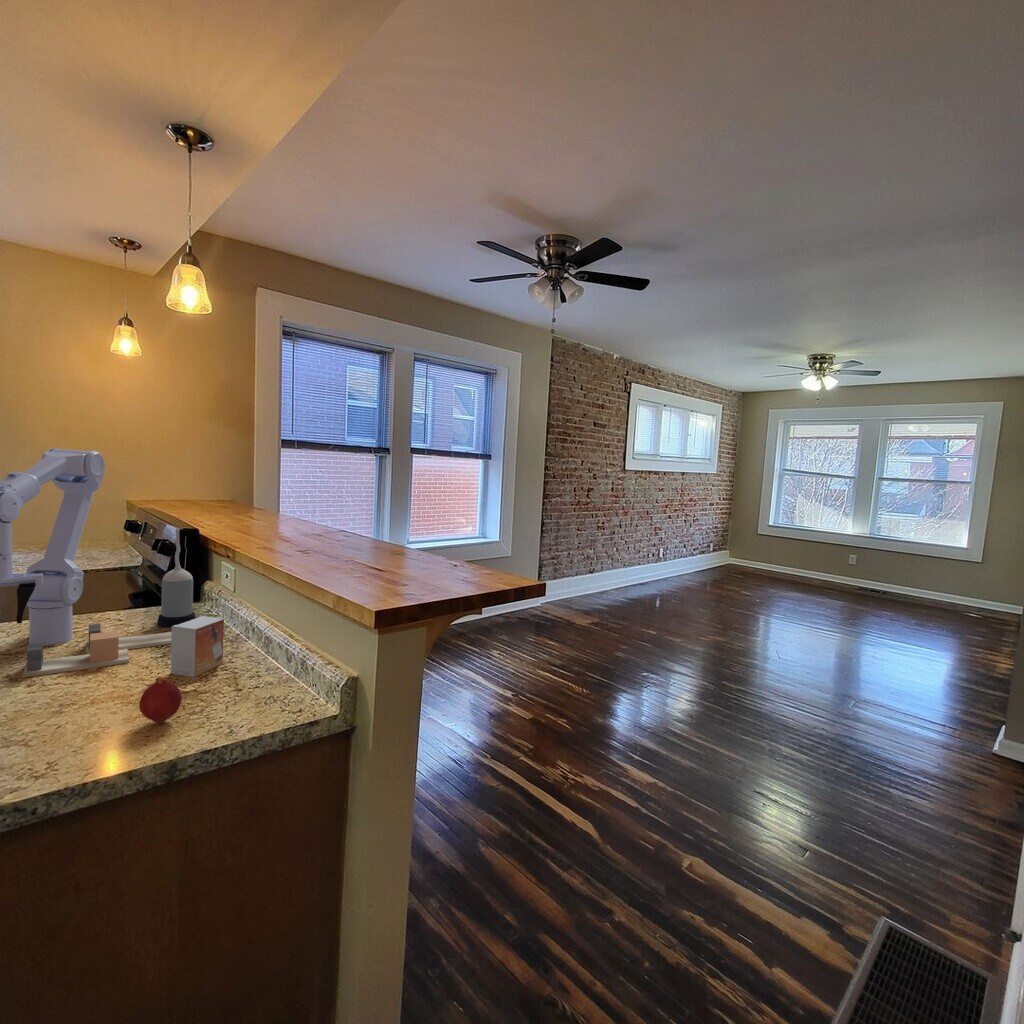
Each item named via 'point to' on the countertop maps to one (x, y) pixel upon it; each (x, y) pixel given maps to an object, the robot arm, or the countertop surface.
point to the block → (103, 646)
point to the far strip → (133, 639)
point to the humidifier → (176, 594)
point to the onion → (160, 700)
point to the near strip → (63, 661)
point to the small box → (197, 646)
